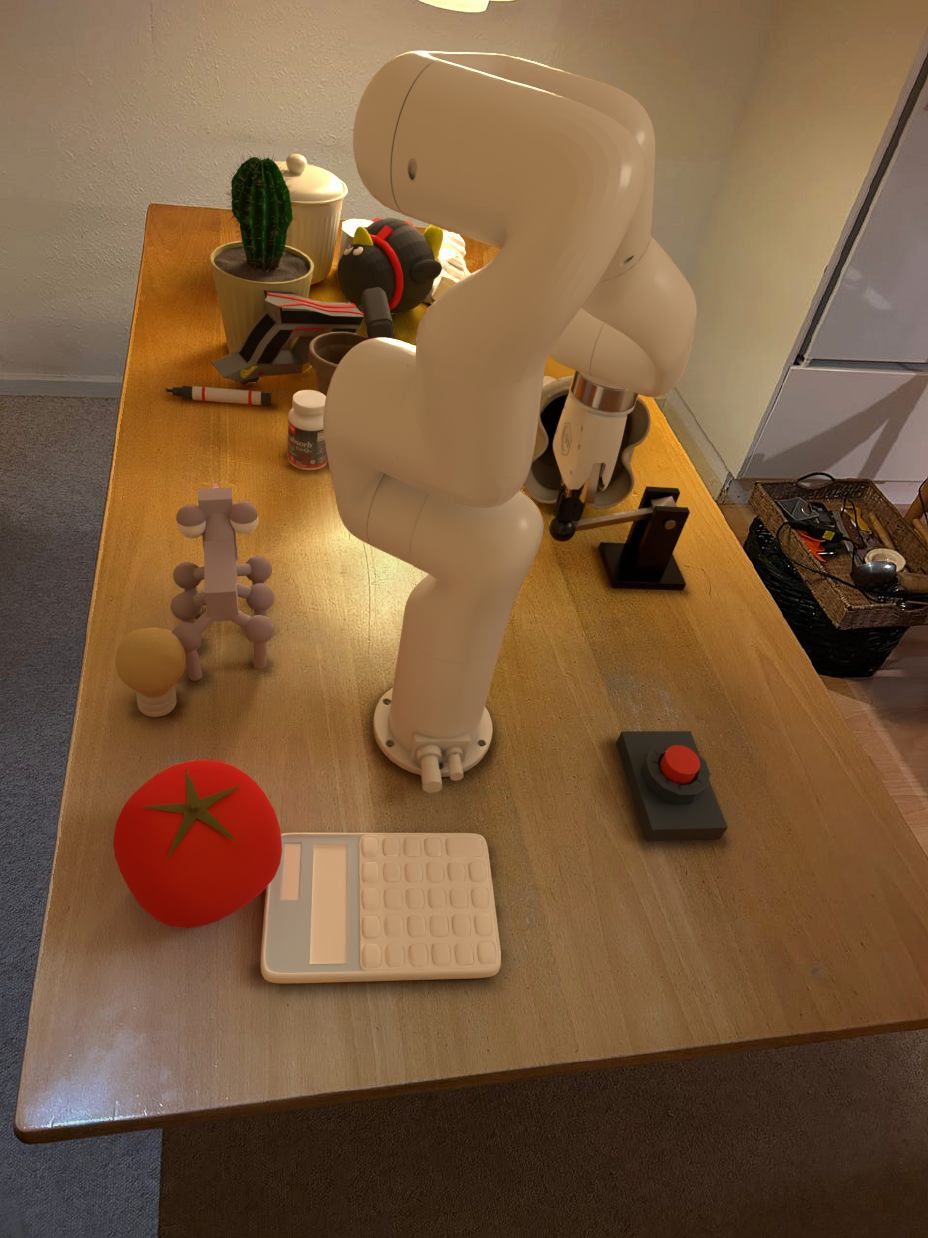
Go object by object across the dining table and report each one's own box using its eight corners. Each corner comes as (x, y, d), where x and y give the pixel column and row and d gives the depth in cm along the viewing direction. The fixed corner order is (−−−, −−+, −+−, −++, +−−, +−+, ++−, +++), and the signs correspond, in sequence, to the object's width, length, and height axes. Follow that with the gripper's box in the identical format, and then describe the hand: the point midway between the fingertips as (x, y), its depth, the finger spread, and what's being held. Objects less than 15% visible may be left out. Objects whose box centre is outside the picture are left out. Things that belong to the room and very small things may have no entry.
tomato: (218, 785, 82) (212, 707, 74) (309, 884, 76) (314, 812, 68) (92, 865, 74) (70, 788, 66) (182, 982, 68) (170, 914, 60)
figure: (468, 334, 163) (464, 269, 179) (490, 302, 158) (484, 237, 174) (408, 301, 158) (410, 237, 174) (430, 267, 153) (429, 204, 169)
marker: (271, 401, 130) (271, 389, 129) (271, 408, 129) (270, 396, 127) (166, 393, 127) (165, 381, 126) (164, 400, 126) (163, 387, 124)
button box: (720, 839, 86) (734, 817, 83) (645, 841, 85) (658, 819, 82) (684, 743, 94) (696, 720, 92) (615, 743, 93) (626, 720, 90)
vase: (474, 326, 130) (516, 377, 107) (610, 313, 133) (681, 360, 109) (480, 461, 142) (519, 534, 118) (605, 446, 144) (668, 515, 121)
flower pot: (359, 384, 138) (364, 325, 131) (395, 420, 132) (402, 360, 125) (293, 396, 132) (295, 335, 125) (328, 435, 126) (332, 373, 119)
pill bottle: (279, 461, 120) (279, 398, 113) (302, 444, 124) (304, 382, 117) (313, 477, 118) (315, 414, 112) (336, 459, 122) (339, 397, 116)
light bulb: (124, 734, 84) (111, 666, 77) (124, 685, 88) (111, 617, 81) (192, 727, 86) (185, 660, 79) (189, 679, 90) (182, 612, 83)
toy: (459, 209, 149) (380, 233, 136) (468, 304, 157) (395, 334, 145) (376, 208, 160) (296, 230, 147) (388, 297, 169) (314, 324, 156)
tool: (203, 374, 129) (234, 287, 120) (326, 370, 148) (361, 294, 139) (220, 395, 127) (253, 308, 118) (343, 388, 146) (379, 313, 137)
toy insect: (177, 559, 103) (167, 464, 93) (267, 557, 105) (267, 465, 96) (173, 685, 89) (162, 590, 80) (277, 679, 92) (278, 586, 83)
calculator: (500, 980, 72) (505, 970, 71) (259, 987, 69) (258, 977, 68) (483, 840, 82) (487, 829, 80) (270, 840, 78) (270, 829, 77)
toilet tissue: (412, 248, 160) (404, 292, 166) (370, 216, 165) (364, 259, 172) (374, 254, 155) (367, 298, 161) (331, 220, 160) (326, 264, 166)
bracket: (612, 588, 111) (638, 517, 103) (597, 548, 117) (622, 477, 109) (683, 590, 113) (715, 520, 105) (666, 551, 119) (695, 482, 111)
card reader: (371, 368, 140) (357, 287, 128) (395, 364, 140) (384, 283, 128) (378, 405, 135) (364, 325, 123) (403, 401, 135) (392, 320, 123)
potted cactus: (317, 335, 147) (324, 145, 126) (303, 380, 136) (308, 179, 115) (226, 321, 145) (218, 126, 125) (204, 365, 134) (192, 159, 114)
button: (699, 784, 86) (705, 774, 85) (665, 784, 85) (671, 774, 84) (688, 754, 89) (693, 744, 87) (655, 755, 88) (661, 744, 87)
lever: (552, 549, 108) (551, 529, 106) (547, 532, 111) (545, 512, 108) (677, 527, 108) (679, 506, 106) (669, 510, 111) (670, 489, 108)
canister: (361, 278, 166) (369, 161, 152) (300, 304, 154) (303, 181, 140) (288, 246, 171) (290, 130, 157) (224, 270, 159) (219, 147, 145)
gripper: (559, 350, 99) (527, 479, 112) (587, 422, 89) (549, 555, 102) (620, 355, 101) (581, 482, 113) (655, 426, 90) (608, 557, 103)
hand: (566, 516), depth 107 cm, fingers closed
